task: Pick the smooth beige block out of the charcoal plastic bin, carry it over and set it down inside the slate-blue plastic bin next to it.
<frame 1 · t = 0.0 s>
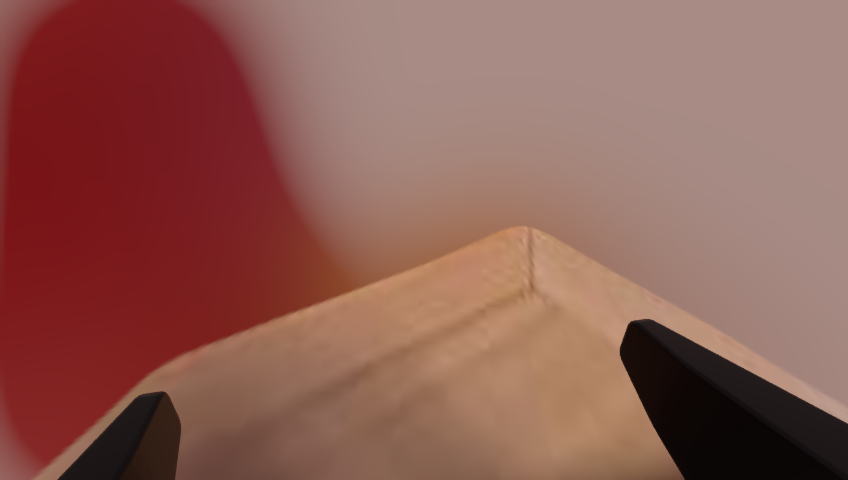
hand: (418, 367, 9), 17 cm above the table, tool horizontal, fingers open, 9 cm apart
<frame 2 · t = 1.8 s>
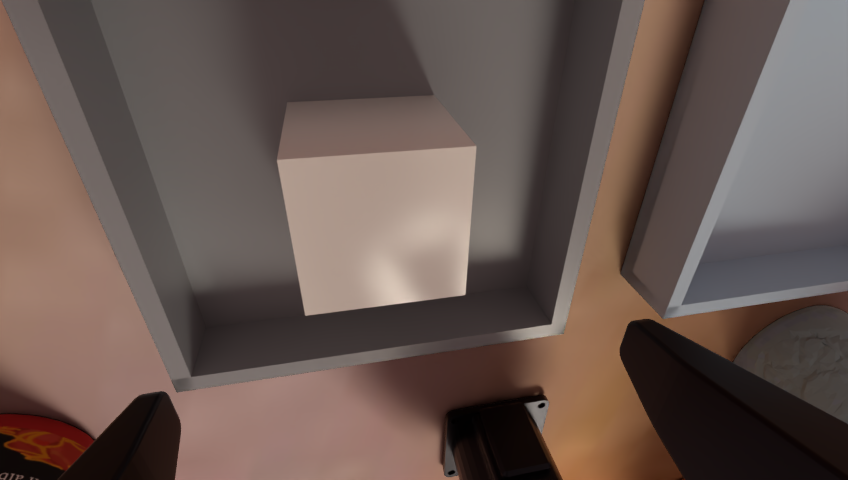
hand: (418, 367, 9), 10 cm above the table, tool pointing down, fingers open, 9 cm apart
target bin: (813, 126, 21), on the table
canned food: (20, 456, 22), on the table
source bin: (365, 158, 17), on the table
smooth beige block: (367, 166, 17), point 1 cm above the table, touching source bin
grey cylinder: (779, 349, 31), on the table
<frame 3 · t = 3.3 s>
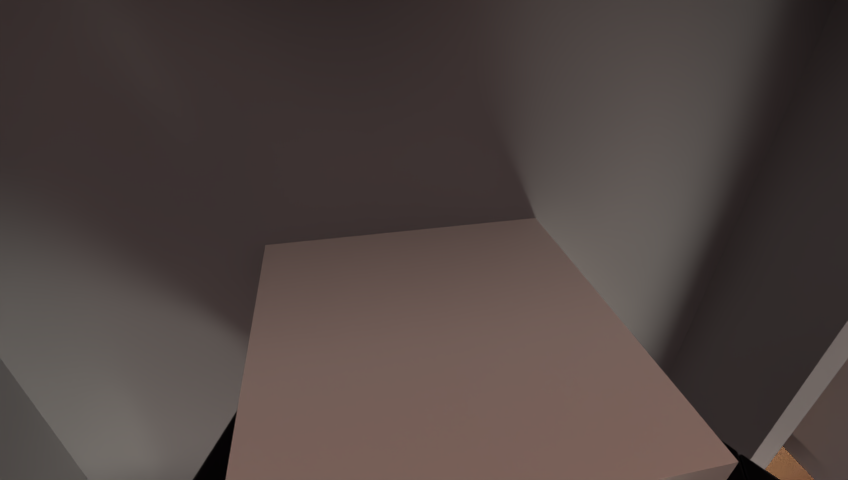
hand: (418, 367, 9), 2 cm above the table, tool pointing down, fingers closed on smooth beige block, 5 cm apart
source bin: (402, 306, 10), on the table
smooth beige block: (409, 330, 10), point 1 cm above the table, touching gripper, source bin
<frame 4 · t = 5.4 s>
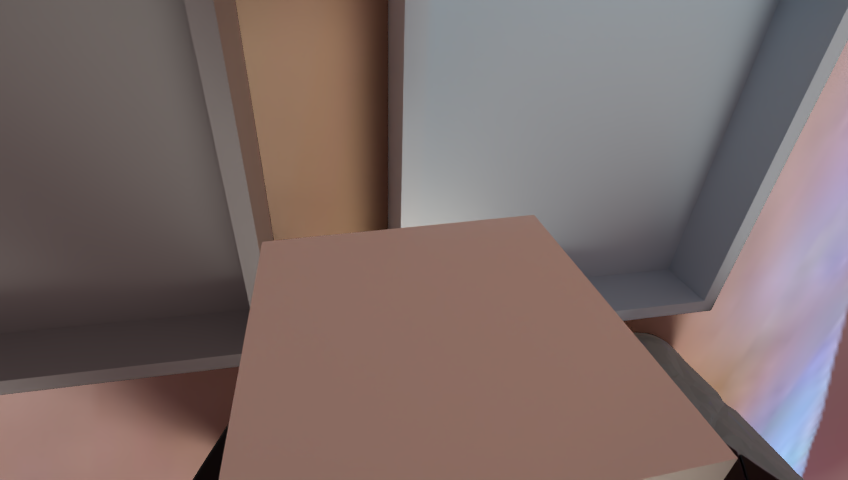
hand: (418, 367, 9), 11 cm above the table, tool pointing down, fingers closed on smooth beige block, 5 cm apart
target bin: (565, 149, 20), on the table
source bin: (25, 168, 16), on the table
smooth beige block: (407, 328, 9), point 10 cm above the table, touching gripper
grey cylinder: (606, 376, 30), on the table
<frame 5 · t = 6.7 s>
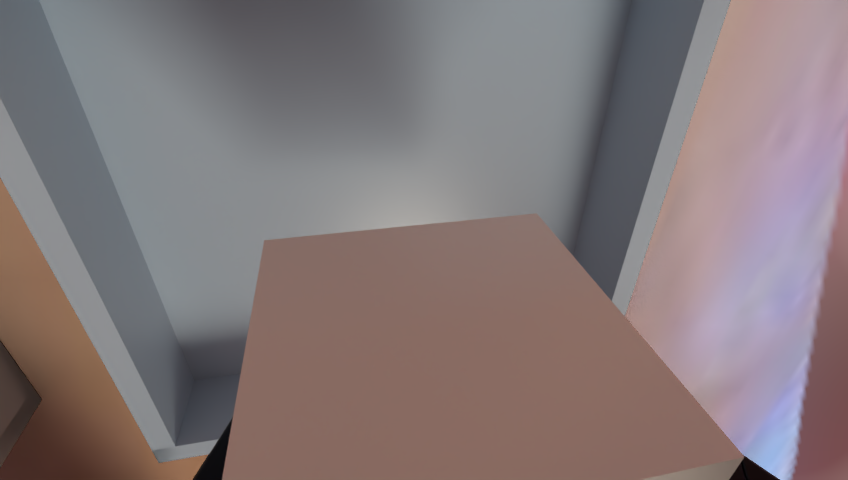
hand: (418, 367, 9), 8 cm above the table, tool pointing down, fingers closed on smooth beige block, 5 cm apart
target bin: (377, 191, 15), on the table
smooth beige block: (409, 327, 9), point 7 cm above the table, touching gripper
when the fingers open (3 cm above the table, at t = 7.8 s): smooth beige block drops 2 cm, resting on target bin.
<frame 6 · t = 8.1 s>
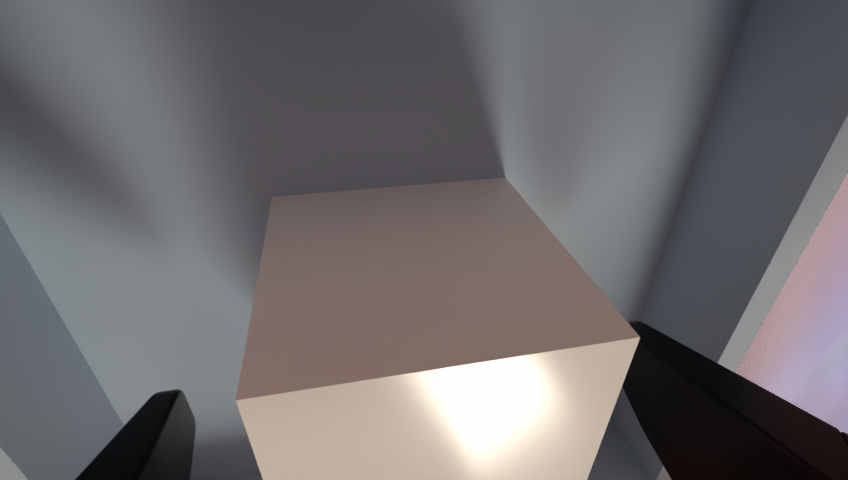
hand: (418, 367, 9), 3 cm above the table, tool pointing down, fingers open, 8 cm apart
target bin: (393, 263, 12), on the table
smooth beige block: (397, 279, 11), point 1 cm above the table, touching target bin
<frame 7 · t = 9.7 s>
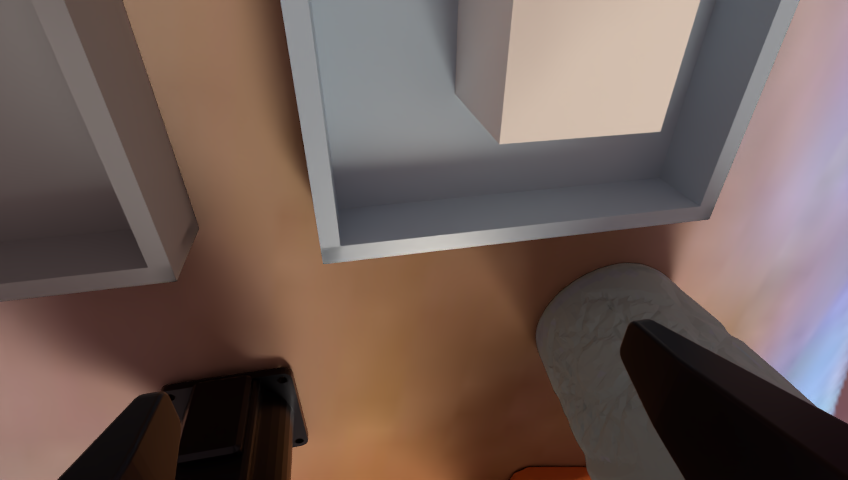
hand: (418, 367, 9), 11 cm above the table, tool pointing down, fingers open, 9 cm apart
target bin: (519, 16, 16), on the table
smooth beige block: (527, 17, 15), point 1 cm above the table, touching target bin
grey cylinder: (596, 317, 27), on the table
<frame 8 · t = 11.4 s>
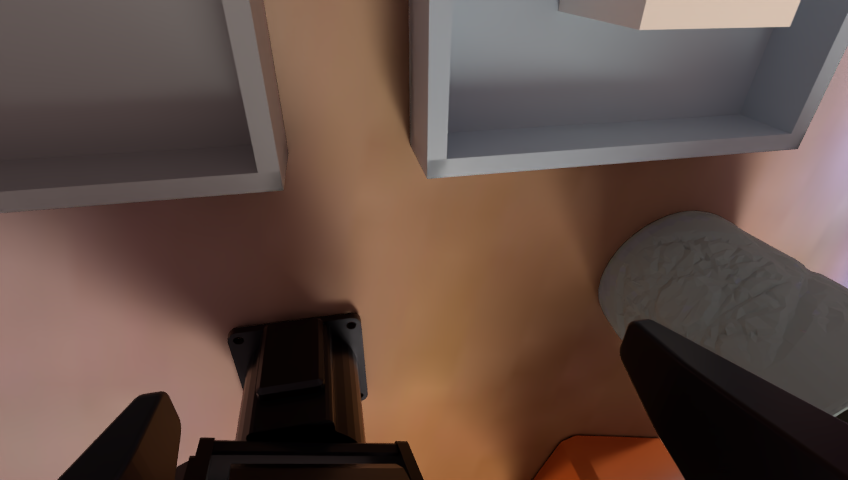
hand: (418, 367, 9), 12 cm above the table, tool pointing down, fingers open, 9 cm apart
whiskey bottle: (586, 469, 38), on the table
grey cylinder: (658, 271, 27), on the table
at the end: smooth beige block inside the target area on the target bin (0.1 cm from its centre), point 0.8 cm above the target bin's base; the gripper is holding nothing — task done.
